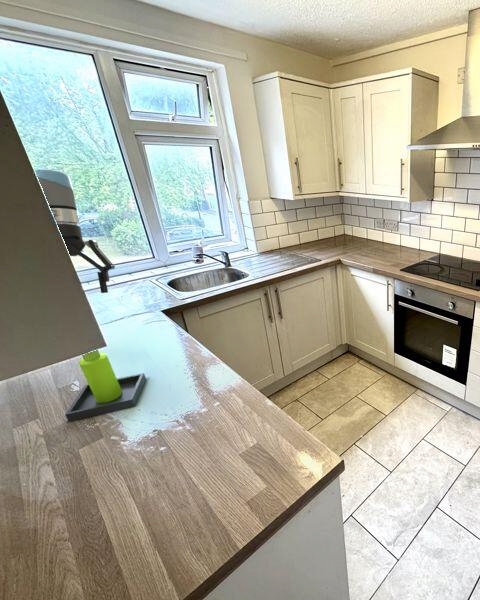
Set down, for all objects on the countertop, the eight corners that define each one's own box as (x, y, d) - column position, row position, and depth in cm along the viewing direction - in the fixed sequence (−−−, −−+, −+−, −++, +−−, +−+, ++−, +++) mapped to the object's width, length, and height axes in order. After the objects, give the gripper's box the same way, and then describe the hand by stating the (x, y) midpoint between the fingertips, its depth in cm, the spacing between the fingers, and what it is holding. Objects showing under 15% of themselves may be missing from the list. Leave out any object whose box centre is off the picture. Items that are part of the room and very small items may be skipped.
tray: (68, 421, 88) (64, 414, 87) (88, 391, 99) (85, 384, 98) (134, 406, 93) (132, 399, 92) (146, 379, 104) (143, 372, 103)
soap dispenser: (102, 407, 92) (74, 346, 84) (92, 398, 95) (64, 338, 87) (127, 395, 96) (102, 336, 88) (117, 387, 100) (92, 329, 92)
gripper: (-5, 225, 90) (12, 301, 92) (109, 221, 99) (122, 291, 101) (14, 228, 96) (29, 300, 99) (119, 225, 106) (131, 290, 108)
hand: (76, 295), depth 100 cm, fingers open, 13 cm apart
